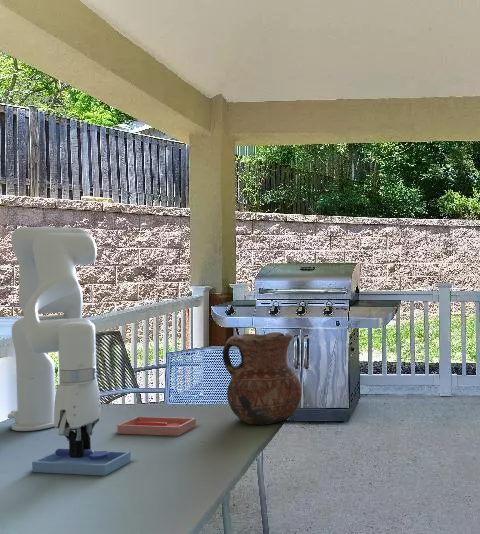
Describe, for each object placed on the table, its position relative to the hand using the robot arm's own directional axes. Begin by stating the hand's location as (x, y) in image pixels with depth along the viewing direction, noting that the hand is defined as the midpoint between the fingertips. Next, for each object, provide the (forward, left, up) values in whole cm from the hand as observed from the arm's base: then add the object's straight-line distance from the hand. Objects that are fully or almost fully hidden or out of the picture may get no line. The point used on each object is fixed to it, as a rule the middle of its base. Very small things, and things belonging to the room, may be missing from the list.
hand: (80, 455), depth 139 cm
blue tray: (0, 0, -3) cm, 3 cm away
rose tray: (0, +30, -3) cm, 30 cm away
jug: (+26, +44, -3) cm, 51 cm away
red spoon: (0, +30, -2) cm, 30 cm away
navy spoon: (0, 0, 0) cm, 0 cm away
